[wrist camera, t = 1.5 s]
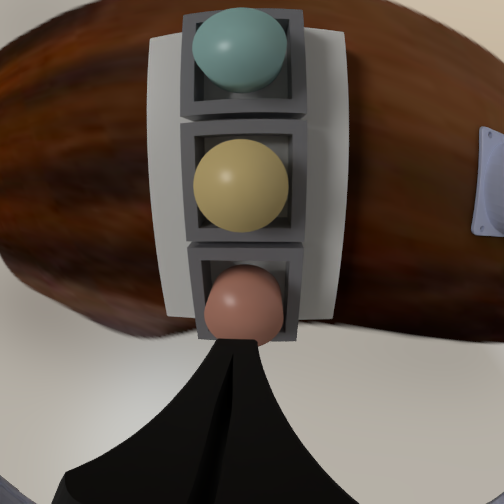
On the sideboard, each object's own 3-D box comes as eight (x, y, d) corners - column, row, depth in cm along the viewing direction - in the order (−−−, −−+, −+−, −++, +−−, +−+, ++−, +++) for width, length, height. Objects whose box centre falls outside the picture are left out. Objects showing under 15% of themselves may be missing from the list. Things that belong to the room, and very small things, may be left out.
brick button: (282, 264, 13) (285, 283, 11) (279, 324, 14) (281, 348, 12) (208, 263, 13) (200, 282, 11) (214, 323, 14) (207, 346, 12)
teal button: (282, 26, 9) (285, 7, 7) (284, 93, 10) (288, 82, 8) (203, 29, 9) (194, 12, 7) (202, 95, 10) (191, 86, 8)
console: (334, 44, 12) (354, 17, 8) (326, 301, 17) (339, 339, 14) (162, 49, 12) (134, 26, 8) (176, 299, 18) (157, 335, 14)
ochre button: (284, 141, 11) (288, 139, 9) (283, 219, 12) (287, 232, 10) (203, 142, 11) (191, 141, 9) (206, 219, 12) (196, 232, 10)
